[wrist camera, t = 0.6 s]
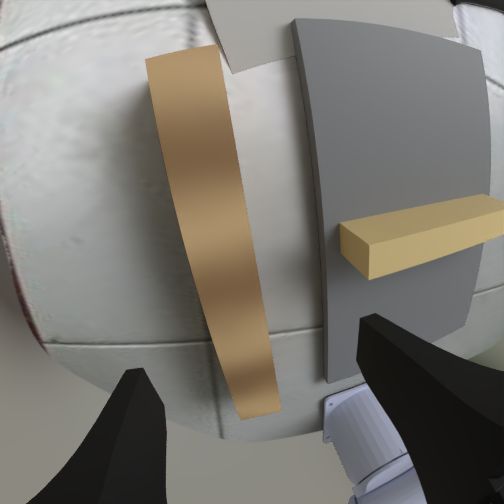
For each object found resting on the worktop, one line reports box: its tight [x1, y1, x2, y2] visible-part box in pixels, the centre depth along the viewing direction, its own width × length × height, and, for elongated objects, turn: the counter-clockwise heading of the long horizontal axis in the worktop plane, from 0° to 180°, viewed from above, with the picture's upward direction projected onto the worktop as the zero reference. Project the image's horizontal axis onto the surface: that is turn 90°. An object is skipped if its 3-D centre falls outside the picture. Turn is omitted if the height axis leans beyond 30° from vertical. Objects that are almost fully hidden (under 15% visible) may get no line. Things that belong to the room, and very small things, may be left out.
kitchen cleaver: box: [205, 0, 504, 74], centre depth 12 cm, size 31×2×10 cm
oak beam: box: [145, 44, 282, 420], centre depth 16 cm, size 22×3×4 cm, turn 9°
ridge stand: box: [291, 18, 504, 384], centre depth 17 cm, size 26×16×4 cm, turn 9°
